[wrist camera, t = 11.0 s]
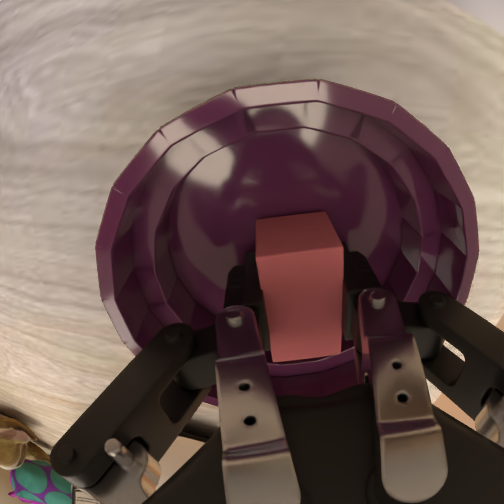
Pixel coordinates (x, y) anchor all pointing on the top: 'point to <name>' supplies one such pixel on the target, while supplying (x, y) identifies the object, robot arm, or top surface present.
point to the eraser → (301, 284)
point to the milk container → (160, 463)
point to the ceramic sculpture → (17, 444)
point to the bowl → (281, 209)
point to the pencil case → (39, 484)
